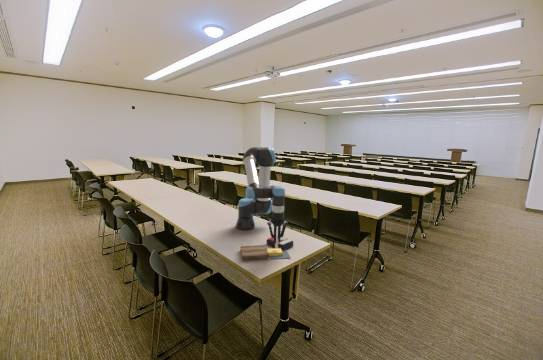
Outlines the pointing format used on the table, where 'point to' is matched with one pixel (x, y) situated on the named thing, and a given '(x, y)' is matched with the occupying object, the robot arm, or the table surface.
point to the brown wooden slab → (254, 253)
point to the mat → (284, 256)
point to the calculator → (281, 243)
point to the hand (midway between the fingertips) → (276, 247)
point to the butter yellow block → (275, 252)
